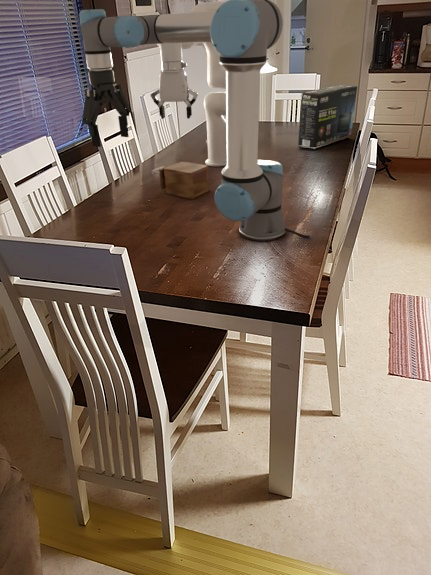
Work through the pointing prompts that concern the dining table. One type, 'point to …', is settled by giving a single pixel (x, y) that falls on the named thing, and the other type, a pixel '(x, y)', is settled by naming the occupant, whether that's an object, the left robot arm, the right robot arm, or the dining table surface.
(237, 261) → the dining table surface
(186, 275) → the dining table surface
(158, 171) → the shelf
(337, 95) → the router box
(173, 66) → the left robot arm
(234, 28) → the right robot arm
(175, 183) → the wooden block
